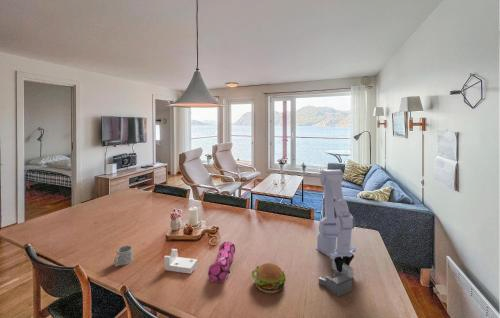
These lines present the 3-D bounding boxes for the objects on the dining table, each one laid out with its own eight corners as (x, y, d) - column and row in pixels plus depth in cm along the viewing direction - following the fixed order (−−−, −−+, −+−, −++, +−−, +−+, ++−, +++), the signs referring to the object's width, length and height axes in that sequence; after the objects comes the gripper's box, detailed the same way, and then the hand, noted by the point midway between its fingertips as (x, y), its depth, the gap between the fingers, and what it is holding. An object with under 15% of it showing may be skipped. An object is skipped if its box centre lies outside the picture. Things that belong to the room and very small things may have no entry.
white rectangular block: (331, 268, 109) (332, 260, 109) (337, 266, 111) (337, 258, 110) (347, 279, 101) (348, 271, 101) (353, 277, 103) (353, 268, 102)
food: (252, 273, 106) (252, 257, 104) (283, 274, 105) (283, 258, 104) (251, 295, 92) (251, 277, 91) (286, 296, 92) (287, 278, 90)
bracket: (165, 271, 108) (164, 256, 107) (173, 262, 115) (172, 248, 114) (190, 275, 105) (190, 260, 104) (197, 266, 112) (197, 251, 111)
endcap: (317, 283, 99) (318, 271, 98) (334, 276, 104) (335, 265, 103) (335, 298, 91) (336, 285, 90) (353, 289, 95) (353, 277, 94)
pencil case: (230, 284, 99) (229, 263, 97) (207, 283, 99) (207, 262, 98) (236, 256, 120) (236, 238, 118) (218, 255, 120) (217, 237, 119)
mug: (124, 257, 120) (123, 244, 119) (136, 258, 118) (135, 246, 117) (109, 268, 110) (108, 255, 109) (121, 270, 109) (120, 257, 108)
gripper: (339, 249, 97) (337, 279, 99) (362, 241, 104) (360, 269, 106) (326, 242, 103) (325, 270, 105) (349, 235, 110) (347, 261, 112)
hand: (342, 269), depth 106 cm, fingers closed on white rectangular block, 3 cm apart
